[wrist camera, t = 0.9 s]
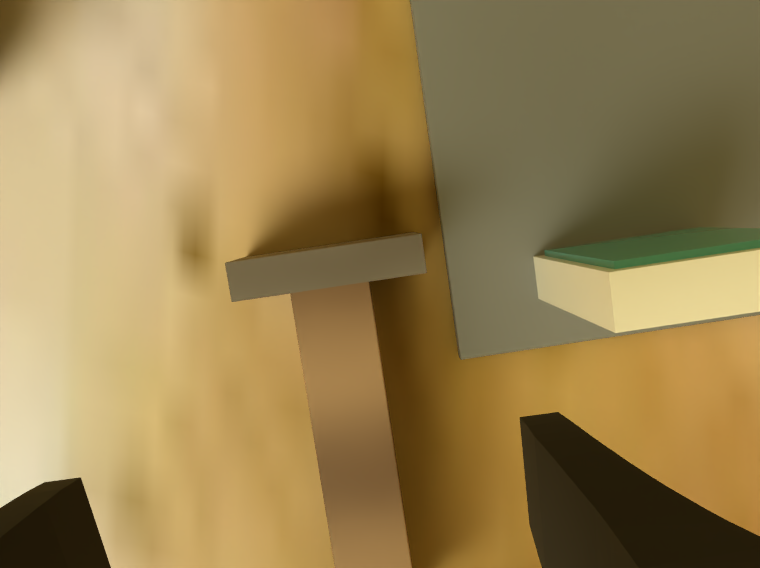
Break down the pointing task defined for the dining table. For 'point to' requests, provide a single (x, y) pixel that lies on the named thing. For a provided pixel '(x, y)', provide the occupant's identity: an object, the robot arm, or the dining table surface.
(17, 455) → the dining table surface
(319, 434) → the hammer
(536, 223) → the mat
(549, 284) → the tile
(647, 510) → the robot arm
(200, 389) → the dining table surface
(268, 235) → the dining table surface
